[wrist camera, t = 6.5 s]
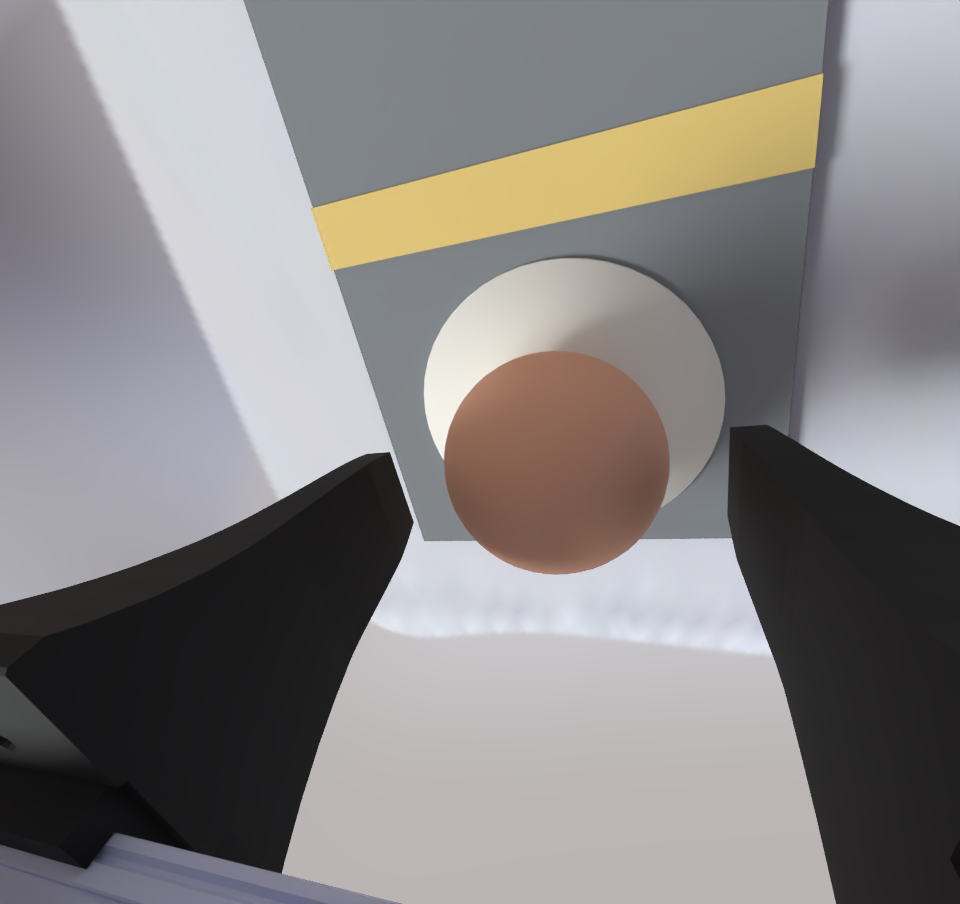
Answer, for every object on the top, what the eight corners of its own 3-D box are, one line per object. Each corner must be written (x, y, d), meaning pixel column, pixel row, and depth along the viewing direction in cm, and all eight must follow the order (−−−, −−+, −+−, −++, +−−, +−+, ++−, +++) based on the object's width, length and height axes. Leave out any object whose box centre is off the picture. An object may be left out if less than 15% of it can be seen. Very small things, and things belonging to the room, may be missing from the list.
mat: (775, 528, 14) (779, 539, 14) (428, 533, 17) (423, 542, 17) (957, -1570, 4) (996, -1772, 4) (58, -596, 7) (25, -642, 7)
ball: (703, 384, 12) (751, 504, 8) (593, 517, 15) (584, 658, 10) (524, 286, 12) (474, 354, 8) (447, 439, 14) (379, 551, 10)
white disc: (800, 361, 11) (803, 363, 11) (609, 565, 16) (609, 570, 16) (498, 192, 11) (497, 193, 11) (390, 449, 15) (388, 452, 15)
